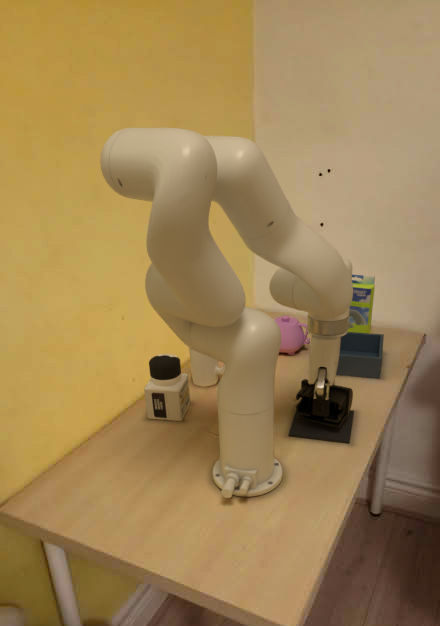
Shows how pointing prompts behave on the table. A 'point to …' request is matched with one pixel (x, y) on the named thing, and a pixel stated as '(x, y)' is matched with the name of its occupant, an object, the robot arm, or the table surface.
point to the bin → (360, 355)
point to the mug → (204, 369)
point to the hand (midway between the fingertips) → (323, 403)
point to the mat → (322, 430)
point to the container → (167, 389)
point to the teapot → (291, 334)
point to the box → (361, 304)
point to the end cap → (338, 404)
